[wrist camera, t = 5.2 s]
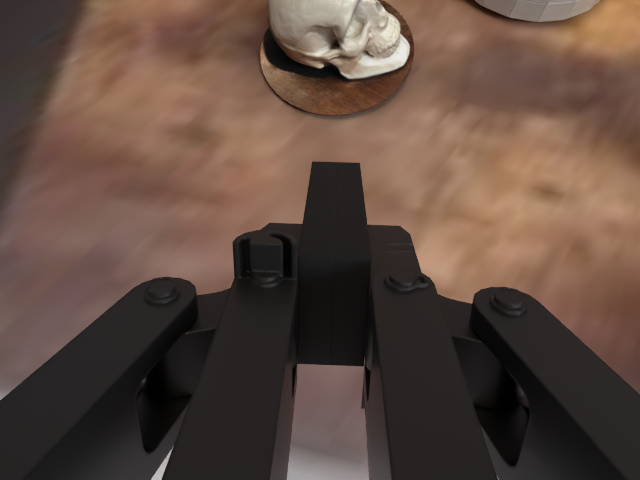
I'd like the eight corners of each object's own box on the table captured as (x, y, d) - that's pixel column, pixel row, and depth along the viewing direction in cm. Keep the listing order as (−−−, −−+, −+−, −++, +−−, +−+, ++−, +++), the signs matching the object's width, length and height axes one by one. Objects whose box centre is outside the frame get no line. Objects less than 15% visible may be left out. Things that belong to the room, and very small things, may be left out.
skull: (434, -7, 42) (436, -18, 32) (394, 118, 46) (386, 141, 36) (293, -46, 42) (255, -68, 33) (267, 80, 47) (227, 93, 37)
